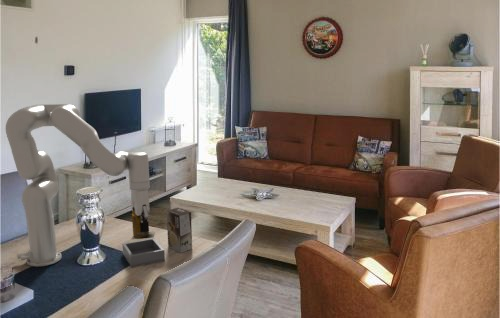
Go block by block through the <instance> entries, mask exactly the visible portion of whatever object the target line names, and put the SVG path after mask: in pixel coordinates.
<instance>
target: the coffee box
mask: <svg viewBox="0 0 500 318" xmlns="http://www.w3.org/2000/svg"><path fill="white" fill-rule="evenodd" d="M166 227H167V245H168V247H167V248H169V249H172V250H174V251H176V252H178V253H182V254H183V253H185V252H187V250H188V251H190V250H193V235H192V232H193V231H192V229H193V228H192V211H188V210H186V209H183V208H180V207H176V208H172V209H169V210H167V211H166Z"/></svg>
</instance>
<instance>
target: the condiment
mask: <svg viewBox="0 0 500 318" xmlns="http://www.w3.org/2000/svg"><path fill="white" fill-rule="evenodd" d="M132 209H133V211H132V213H131V221H132V236H131V239H130V240H145V239H150V238H154V237H155V233H156V231H150V230H149V231H147V232H141V231H140V222H141V220H140V215H139V216H137V215H136V214H135V209H134V207H133V208H131V210H132ZM141 214H144V213H141ZM143 217H144V216H142V219H143Z"/></svg>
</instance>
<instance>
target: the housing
mask: <svg viewBox="0 0 500 318" xmlns="http://www.w3.org/2000/svg"><path fill="white" fill-rule="evenodd" d="M122 255H123V257H124V258H125V260H126V261H127V263H128V264H129V266H130V268H132V269H133V268H138V267H141V266H146V265H151V264H156V263H160V262H165V261H166V258H165V257H166V256H165V255H166V254H165V249H164V248H163V247H162V245H160V243H159V242H158V241H157V239H156V238H144V239H139V240H134V241H129V242H124V243H122Z"/></svg>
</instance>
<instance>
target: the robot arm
mask: <svg viewBox="0 0 500 318" xmlns="http://www.w3.org/2000/svg"><path fill="white" fill-rule="evenodd" d="M43 127H54V128H55V129H57V130H58V131H59V132H61V133H62V134H63V135H65V136H66V137H67V138H68V139H70V140H71V141H72V142H73V143H74V144H76V145H77V146H78V147H79V148H80V149H81V151H82V152H83V153H84V154H85V156H86V157H87V159H89V161H90V162H91V163H92V164H93V165H95V166H96V167H97V168H99V170H101V171H102V172H104V173H105V174H106V175H109V176H111V177H117V176H120V175H121V174H123V173H124V172H125V171H127V170H128V180H129V190H130V197H131V198H130V203H131V205H130V207H131V211H132V212H133V209H132V208H133V207H134V209H135V214H136V215H137V216H139V215H140V220H141V222H140V231H141V232H147V231H149V232H150V225H149V224H150V223H149V214H150V210H151V209H150V200H149V199H150V198H149V197H150V196H149V189H151V188H150V187H151V186H150V185H151V183H150V182H151V181H150V170H149V169H150V167H149V156H148V153H147V152H143V151H138V152H137V151H135V152H127V151H115V152H114V153H113V152H112V151H110V150H109V149H108V148H107V147H106V146H104V144H103V143H102V141H101V140H100V137H99V134H98V132H97V130H96V129H95V128H94V127H93V126H92V125H90V124H89V123H87V122H86V120H84V119H83V118H81V114H80V110H79V109H78V107H76V106H74V104H73V105H72V104H69V103H67V104H66V103H64V104H63V103H61V104H59V103H58V104H55V103H54V104H34V105H31V106H25V107H23V108H22V107H21V108H20V109H18V110H15V112H13V113H12V114H11V115H10V116H9V117H8V118H7V120H6V123H5V134H6V138H7V141H8V144H9V146H10V150H11V154H12V157H13V161H14V164H15V167H16V168H15V169H16V171H17V174H18V175H19V176H20V177H21V179H23V180H28V181H30V180H31V181H32V182H31V183H29V184H27V185H26V186H25V188H24V189H23V190H22V194H21V202H22V205H23V209H24V213H25V220H26V227H27V237H28V245H29V246H28V247H29V248H28V251H26V252H23V253H22V252H21V253H17V254H16V257H17V259H18V260H20V259H21V261H25V260H26V264H27V265H28V266H30V267H37V268H38V267H46V266H50V265H53V264H56V263H57V262H59V261H60V260H61V259H62V257H63V256H62V253H61V252H60V251H58V249H57V240H56V239H57V238H56V231H55V229H56V228H55V219H54V212H53V208H52V205H51V201H52V200H53V198H55V197H56V196H57V195H58V193H59V189H60V188H59V185H60V184H59V181H58V178H57V174H56V173H57V172H56V171H55V167H54V163H53V161H52V157H50V155H49V154H48V153H47V152H46V151H43V150H40V149H38V148H37V143H36V141H35V139H34V137H33V134H32V131H34V130H37V129H39V128H43ZM141 213H144V214H141ZM142 216H144V217H143V219H142Z"/></svg>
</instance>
